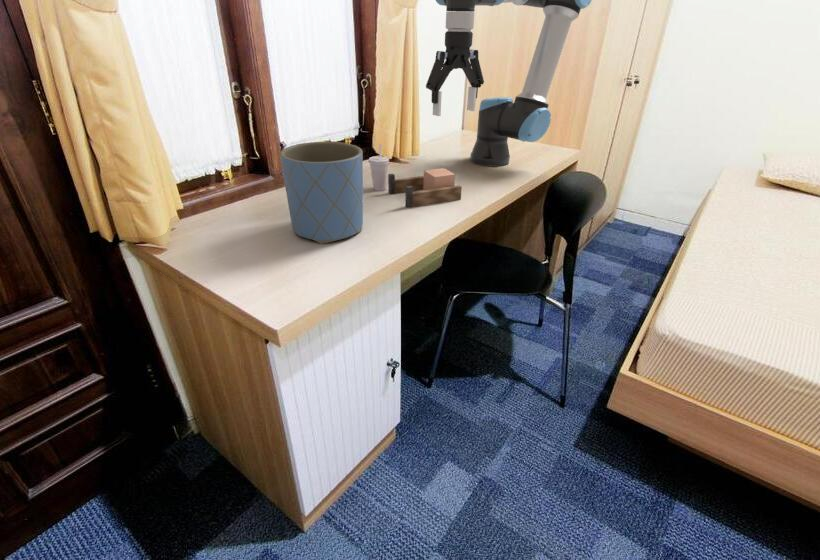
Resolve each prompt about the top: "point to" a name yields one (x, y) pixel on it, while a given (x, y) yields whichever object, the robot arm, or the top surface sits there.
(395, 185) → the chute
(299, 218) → the planter
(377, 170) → the smoothie
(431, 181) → the block
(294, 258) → the top surface
